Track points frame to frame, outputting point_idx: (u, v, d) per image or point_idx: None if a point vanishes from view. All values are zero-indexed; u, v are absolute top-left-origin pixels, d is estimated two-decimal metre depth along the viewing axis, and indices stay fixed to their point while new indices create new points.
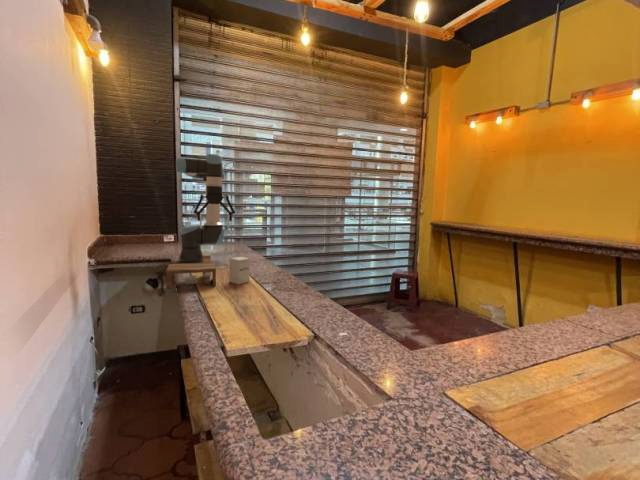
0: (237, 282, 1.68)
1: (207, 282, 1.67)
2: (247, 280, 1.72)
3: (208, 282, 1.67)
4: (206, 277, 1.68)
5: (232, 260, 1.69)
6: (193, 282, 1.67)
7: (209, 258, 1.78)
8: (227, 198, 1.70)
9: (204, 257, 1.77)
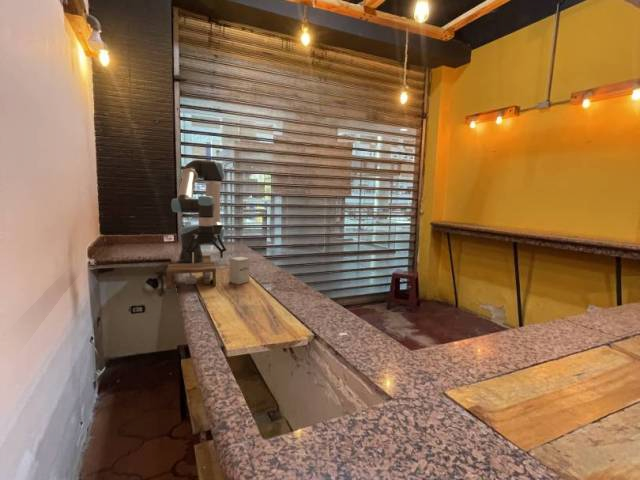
0: (237, 282, 1.68)
1: (207, 282, 1.67)
2: (247, 280, 1.72)
3: (208, 282, 1.67)
4: (206, 277, 1.68)
5: (232, 260, 1.69)
6: (193, 282, 1.67)
7: (209, 258, 1.78)
8: (218, 237, 1.78)
9: (204, 257, 1.77)
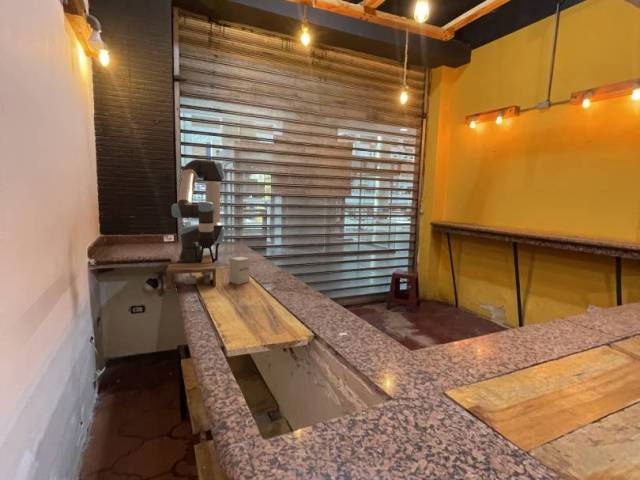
0: (237, 282, 1.68)
1: (207, 282, 1.67)
2: (247, 280, 1.72)
3: (208, 282, 1.67)
4: (206, 277, 1.68)
5: (232, 260, 1.69)
6: (193, 282, 1.67)
7: (209, 258, 1.78)
8: (217, 245, 1.79)
9: (204, 257, 1.77)
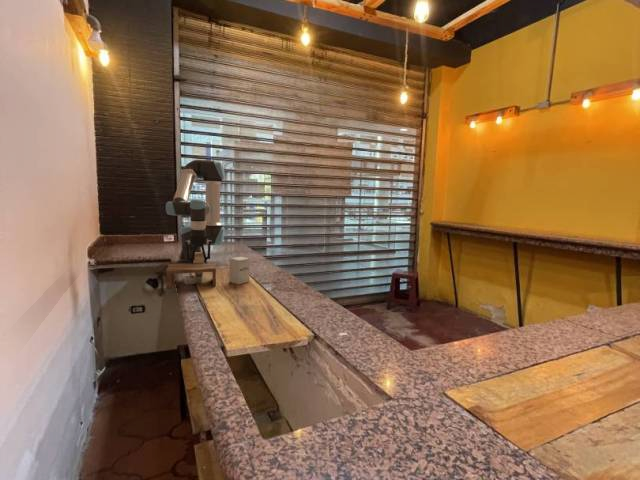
0: (237, 282, 1.68)
1: (199, 280, 1.65)
2: (247, 280, 1.72)
3: (200, 280, 1.65)
4: (198, 275, 1.66)
5: (232, 260, 1.69)
6: (194, 282, 1.67)
7: (201, 256, 1.76)
8: (209, 243, 1.77)
9: (196, 255, 1.75)
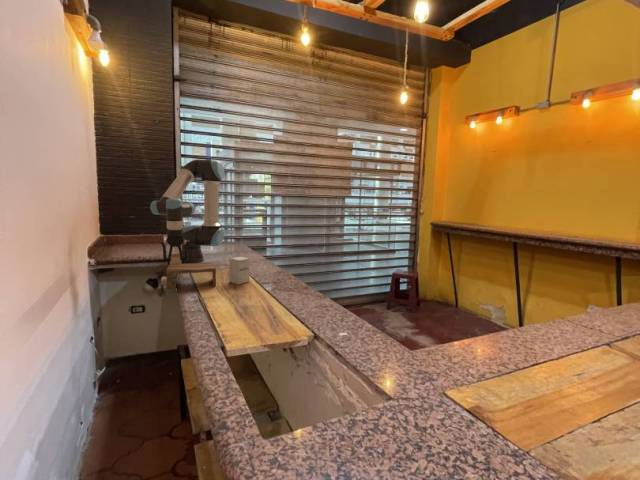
0: (237, 282, 1.68)
1: (174, 281, 1.61)
2: (247, 280, 1.72)
3: (176, 281, 1.62)
4: (174, 276, 1.63)
5: (232, 260, 1.69)
6: None
7: (178, 257, 1.72)
8: (186, 243, 1.74)
9: (173, 256, 1.71)
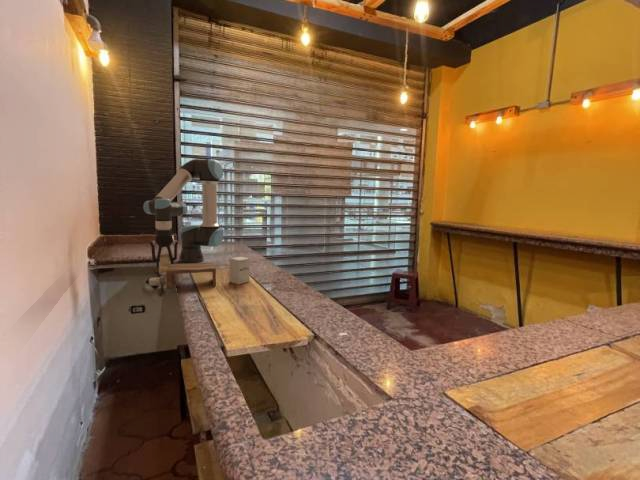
0: (237, 282, 1.68)
1: (162, 282, 1.60)
2: (247, 280, 1.72)
3: (163, 282, 1.60)
4: (162, 277, 1.61)
5: (232, 260, 1.69)
6: (158, 284, 1.62)
7: (167, 257, 1.71)
8: (176, 244, 1.72)
9: (162, 256, 1.70)
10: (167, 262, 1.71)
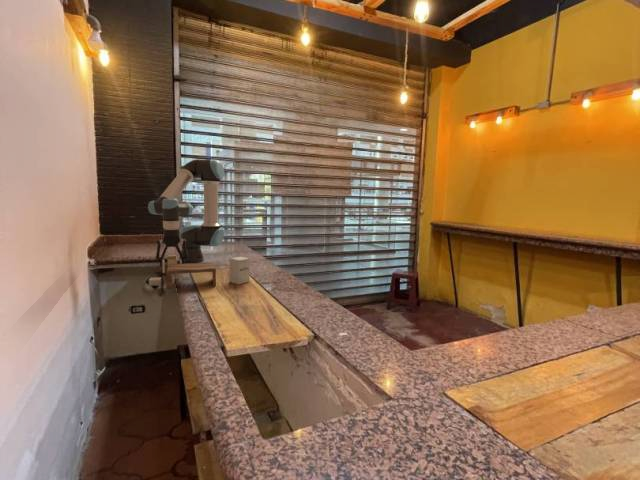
0: (237, 282, 1.68)
1: None
2: (247, 280, 1.72)
3: None
4: None
5: (232, 260, 1.69)
6: (158, 284, 1.62)
7: (174, 259, 1.72)
8: (184, 242, 1.73)
9: (169, 258, 1.71)
10: None
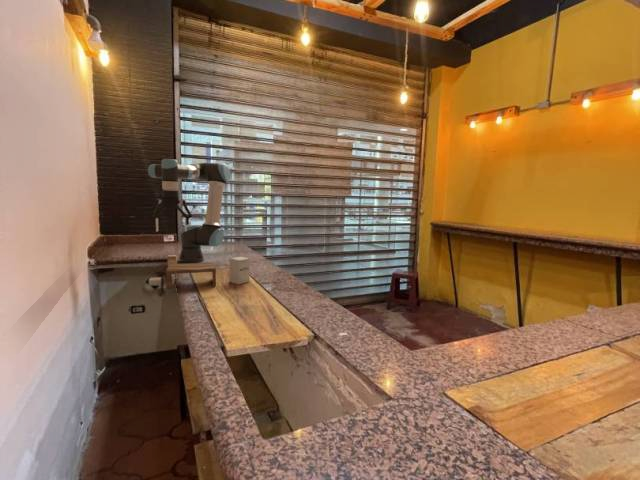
0: (237, 282, 1.68)
1: None
2: (247, 280, 1.72)
3: None
4: None
5: (232, 260, 1.69)
6: (158, 284, 1.62)
7: (174, 259, 1.72)
8: (183, 202, 1.72)
9: (169, 258, 1.71)
10: None
